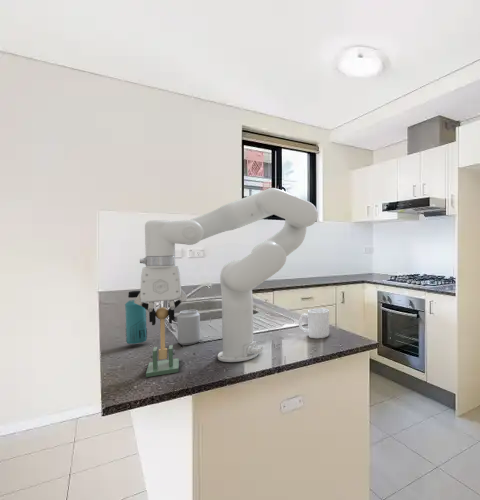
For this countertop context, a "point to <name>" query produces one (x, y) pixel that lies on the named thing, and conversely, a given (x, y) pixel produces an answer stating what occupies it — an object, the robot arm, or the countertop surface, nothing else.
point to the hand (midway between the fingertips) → (162, 322)
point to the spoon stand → (162, 364)
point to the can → (188, 327)
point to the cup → (316, 323)
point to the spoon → (162, 331)
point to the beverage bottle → (135, 321)
